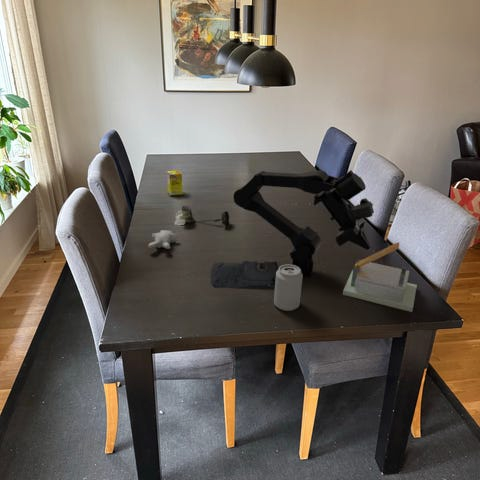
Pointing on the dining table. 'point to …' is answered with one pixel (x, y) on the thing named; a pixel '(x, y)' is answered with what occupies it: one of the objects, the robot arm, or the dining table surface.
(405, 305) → the board
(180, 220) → the artificial flower
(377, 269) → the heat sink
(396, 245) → the strap
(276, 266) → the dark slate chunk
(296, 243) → the robot arm
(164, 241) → the bunny figurine
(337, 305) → the dining table surface
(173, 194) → the supplement box
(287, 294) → the can
